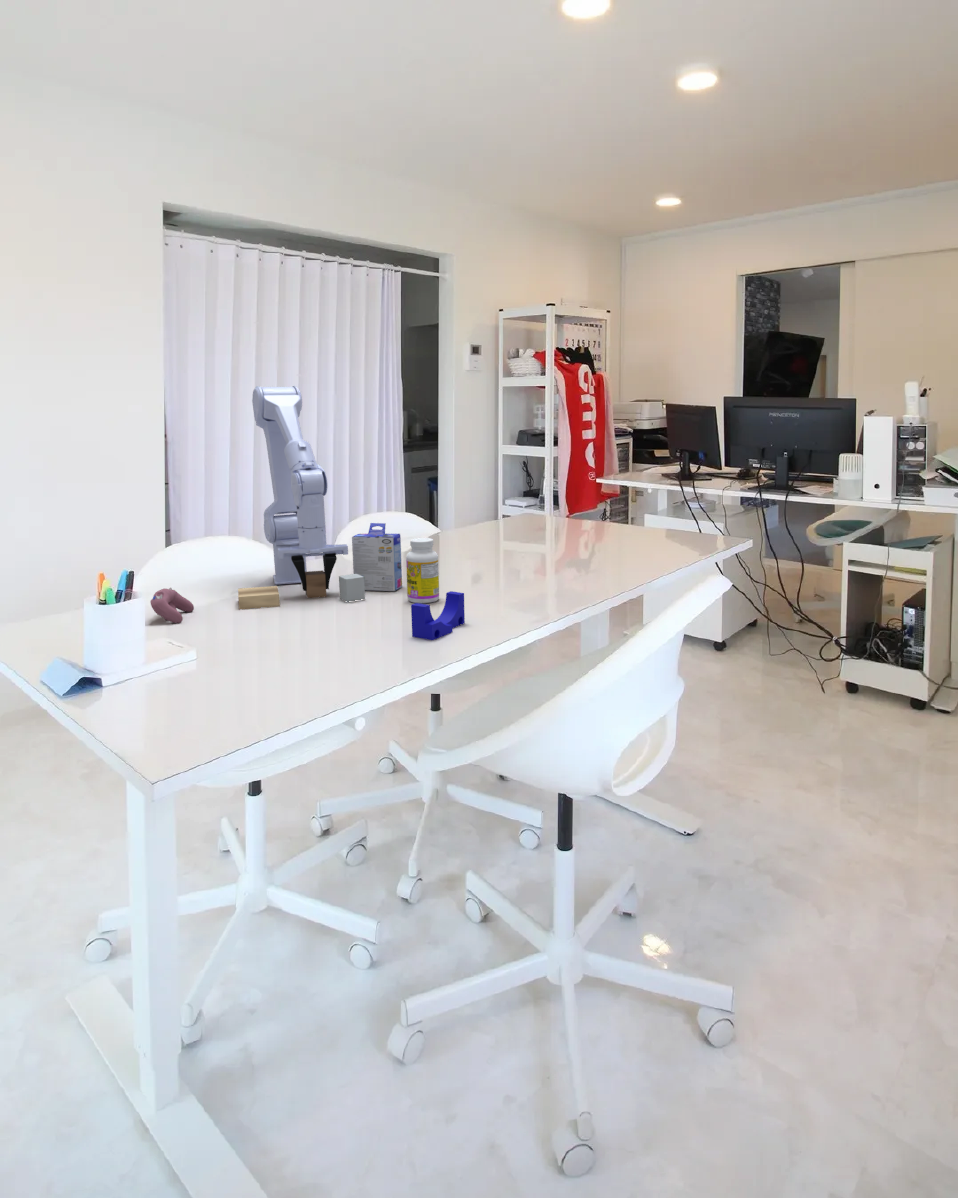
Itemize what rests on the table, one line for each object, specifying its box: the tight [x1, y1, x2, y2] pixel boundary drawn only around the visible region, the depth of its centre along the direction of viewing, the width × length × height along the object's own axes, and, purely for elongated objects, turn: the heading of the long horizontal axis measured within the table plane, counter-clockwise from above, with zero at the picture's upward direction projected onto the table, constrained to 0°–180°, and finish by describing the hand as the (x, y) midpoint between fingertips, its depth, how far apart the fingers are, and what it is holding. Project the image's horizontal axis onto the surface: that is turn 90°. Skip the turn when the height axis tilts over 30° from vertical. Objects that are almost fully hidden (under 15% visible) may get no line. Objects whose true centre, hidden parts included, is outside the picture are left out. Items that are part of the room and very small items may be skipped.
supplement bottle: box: [405, 537, 440, 604], centre depth 168 cm, size 7×7×13 cm
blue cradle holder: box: [410, 591, 466, 641], centre depth 146 cm, size 12×4×6 cm, turn 146°
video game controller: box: [150, 587, 195, 624], centre depth 158 cm, size 10×5×7 cm, turn 5°
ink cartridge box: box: [351, 522, 403, 592], centre depth 179 cm, size 10×6×14 cm, turn 79°
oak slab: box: [237, 585, 281, 610], centre depth 168 cm, size 8×8×3 cm
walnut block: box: [305, 570, 327, 599], centre depth 174 cm, size 4×4×5 cm
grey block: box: [338, 573, 366, 603], centre depth 170 cm, size 4×4×5 cm
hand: (315, 589), depth 174 cm, fingers closed on walnut block, 4 cm apart
